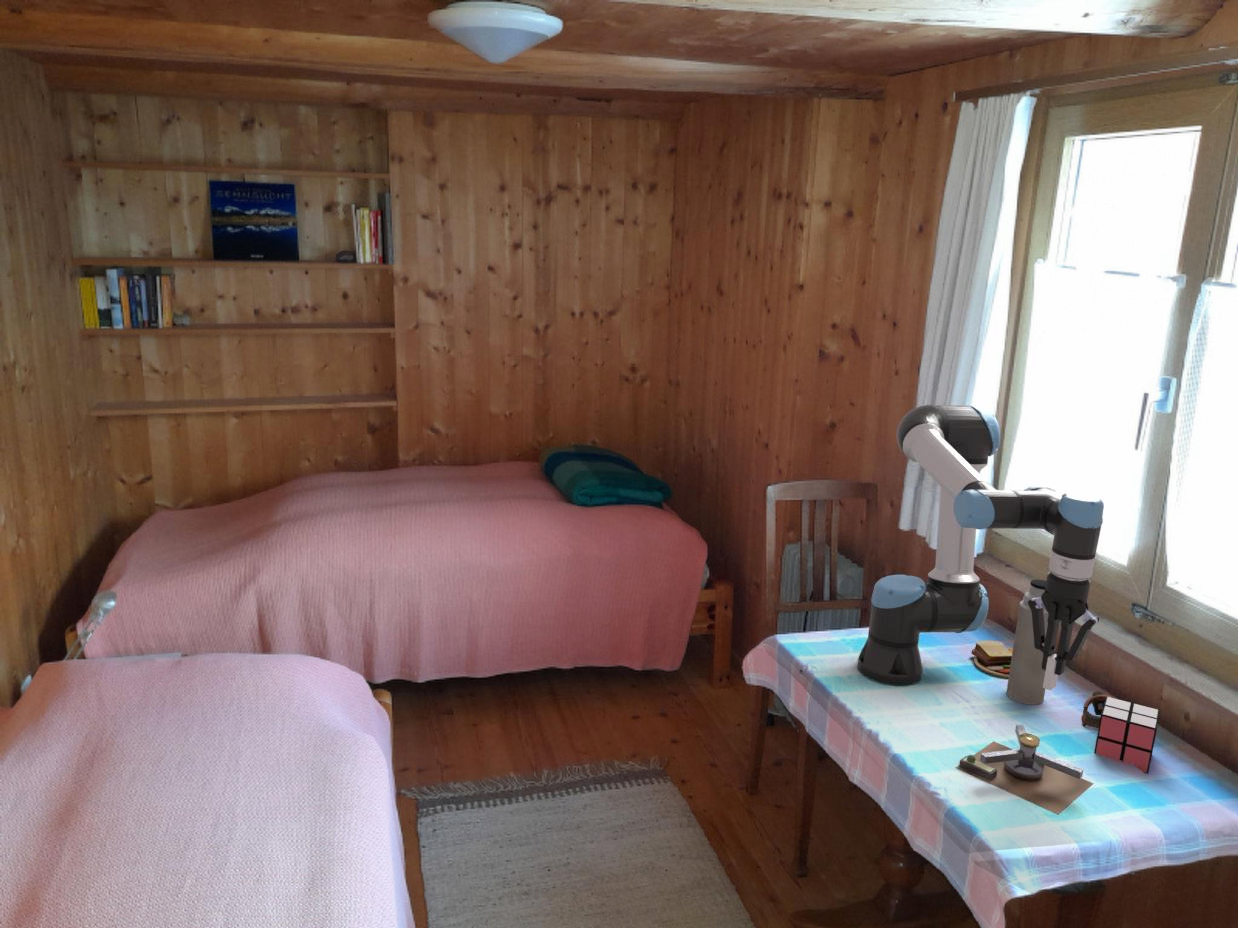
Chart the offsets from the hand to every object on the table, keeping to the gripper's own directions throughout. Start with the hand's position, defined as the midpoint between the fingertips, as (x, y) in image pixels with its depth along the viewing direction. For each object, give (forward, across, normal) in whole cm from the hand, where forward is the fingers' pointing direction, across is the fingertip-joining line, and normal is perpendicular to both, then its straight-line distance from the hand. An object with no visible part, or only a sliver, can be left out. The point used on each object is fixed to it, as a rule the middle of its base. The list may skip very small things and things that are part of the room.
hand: (1049, 686), depth 186 cm
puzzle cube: (+17, +10, +17) cm, 27 cm away
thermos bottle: (+18, -15, +27) cm, 36 cm away
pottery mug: (+18, +3, +28) cm, 33 cm away
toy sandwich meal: (+19, -26, +38) cm, 50 cm away
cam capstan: (+15, 0, -7) cm, 17 cm away
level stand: (+17, +1, -9) cm, 19 cm away
